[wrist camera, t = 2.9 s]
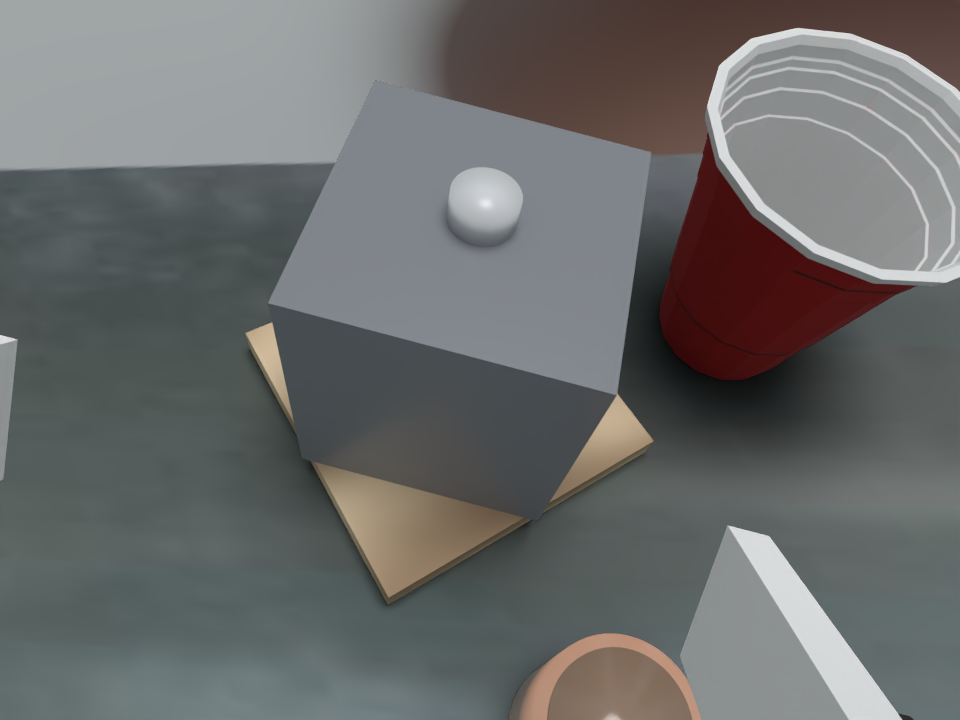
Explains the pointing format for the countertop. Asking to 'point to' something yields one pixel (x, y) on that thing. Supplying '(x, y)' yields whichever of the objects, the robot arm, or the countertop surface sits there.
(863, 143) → the plastic cup
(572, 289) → the grey knobbed cube
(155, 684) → the countertop surface
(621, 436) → the oak board
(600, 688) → the terracotta pot
